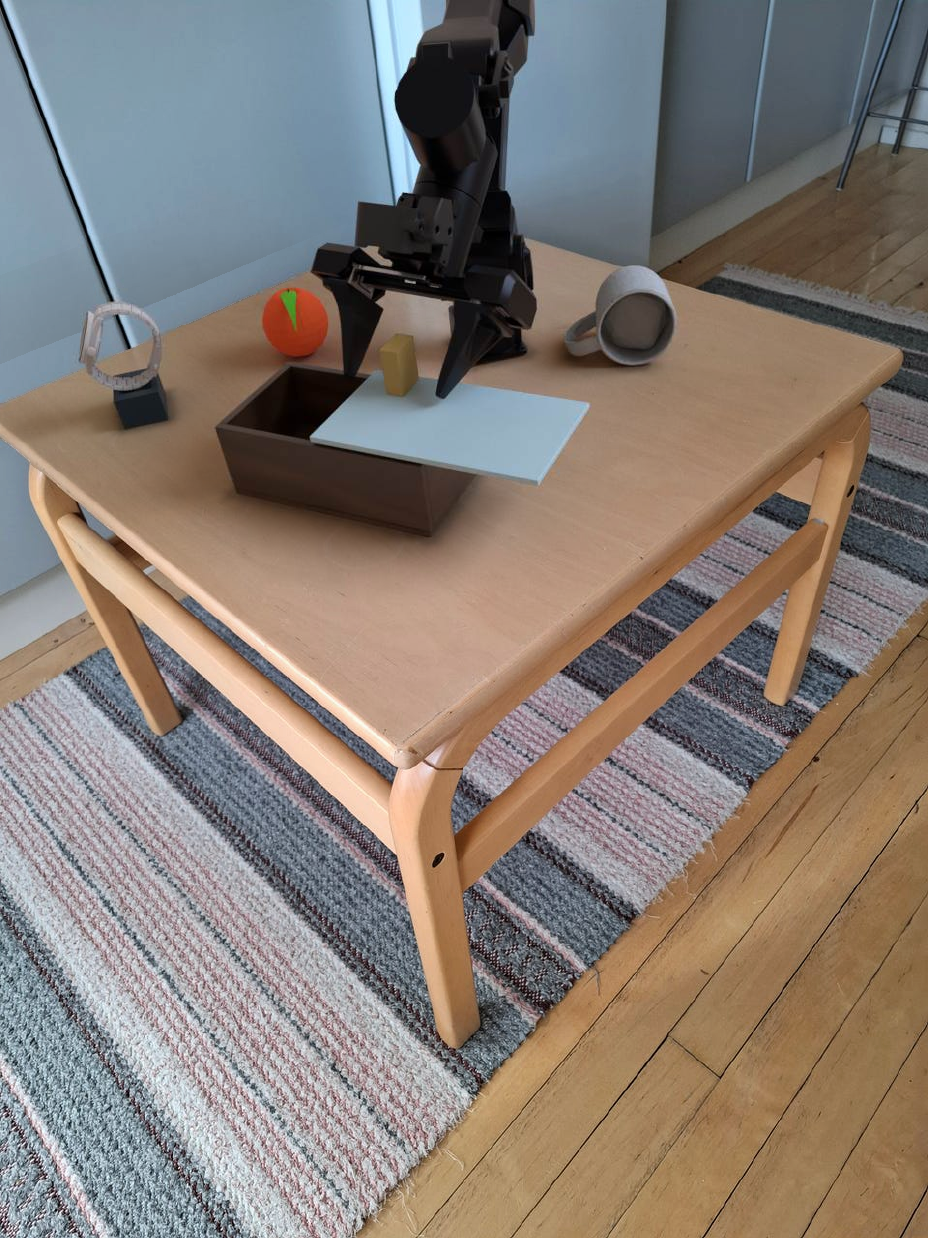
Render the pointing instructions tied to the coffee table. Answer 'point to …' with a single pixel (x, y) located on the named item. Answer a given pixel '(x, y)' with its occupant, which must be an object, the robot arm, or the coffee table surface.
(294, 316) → the clementine
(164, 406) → the watch
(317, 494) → the case
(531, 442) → the lid
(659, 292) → the ceramic mug
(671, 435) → the coffee table surface
